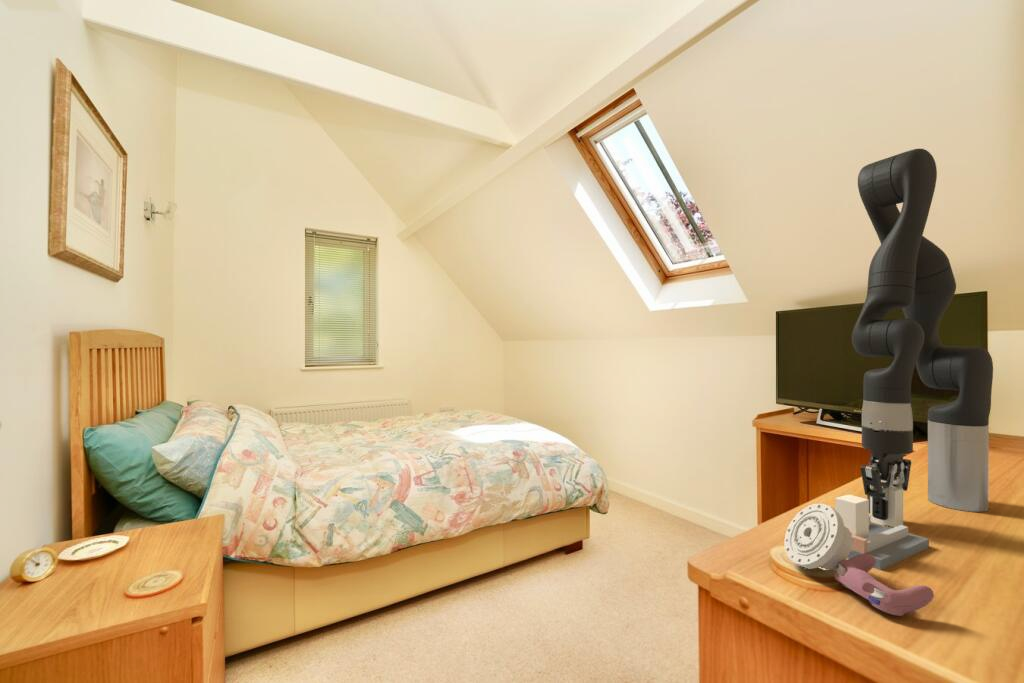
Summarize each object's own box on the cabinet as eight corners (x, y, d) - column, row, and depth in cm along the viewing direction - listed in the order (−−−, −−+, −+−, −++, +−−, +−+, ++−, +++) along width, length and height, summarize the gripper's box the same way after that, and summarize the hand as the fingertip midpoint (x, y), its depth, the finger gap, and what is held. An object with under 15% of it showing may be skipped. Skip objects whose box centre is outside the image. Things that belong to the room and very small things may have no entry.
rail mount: (854, 525, 87) (854, 479, 87) (929, 548, 77) (929, 496, 77) (804, 542, 79) (804, 492, 79) (880, 570, 70) (880, 513, 70)
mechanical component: (776, 527, 76) (822, 490, 72) (799, 542, 76) (847, 506, 72) (791, 576, 68) (845, 536, 63) (818, 593, 67) (874, 555, 63)
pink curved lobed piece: (866, 583, 67) (821, 578, 66) (871, 552, 67) (826, 547, 66) (934, 627, 57) (881, 621, 56) (940, 590, 57) (887, 584, 56)
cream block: (903, 526, 86) (903, 488, 86) (895, 529, 85) (895, 491, 85) (874, 518, 91) (874, 482, 91) (866, 520, 89) (866, 484, 89)
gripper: (882, 419, 94) (882, 504, 94) (844, 425, 87) (843, 516, 87) (929, 425, 88) (928, 516, 88) (891, 432, 81) (891, 530, 81)
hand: (886, 515), depth 88 cm, fingers open, 4 cm apart
